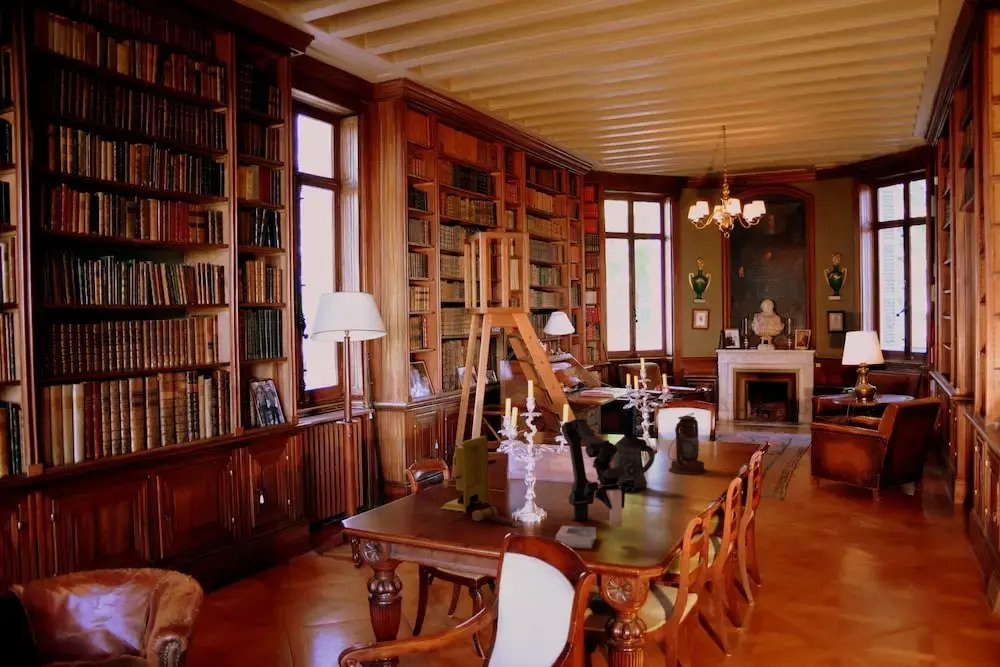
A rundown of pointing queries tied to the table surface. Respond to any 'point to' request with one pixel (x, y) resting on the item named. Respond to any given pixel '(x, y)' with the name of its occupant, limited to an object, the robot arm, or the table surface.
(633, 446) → the beer stein
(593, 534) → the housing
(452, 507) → the olive upright panel stand
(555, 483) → the table surface
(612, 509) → the white tall rounded piece
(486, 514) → the gavel
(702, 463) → the lantern
